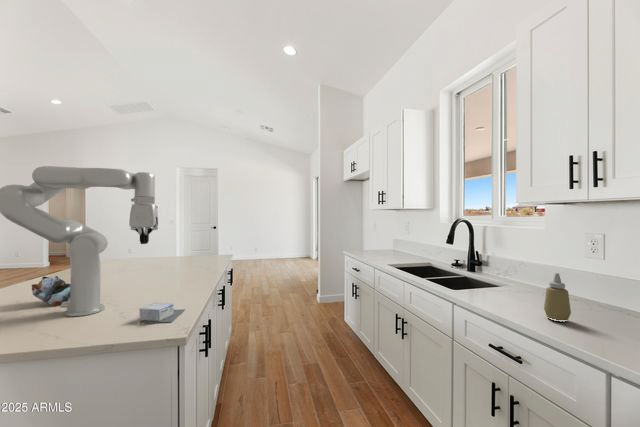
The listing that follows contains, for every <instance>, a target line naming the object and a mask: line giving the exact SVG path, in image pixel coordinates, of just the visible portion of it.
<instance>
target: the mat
mask: <svg viewBox="0 0 640 427" xmlns="http://www.w3.org/2000/svg"><path fill="white" fill-rule="evenodd" d="M185 311H186V308H185V309H184V308H183V309H174V312H173V315H171V316H169V317H167V318H165V319H163V320H161V321H148V320H140V322H139V324H140V323H145V324H169V323H171V324H172V323H173V322H174V321H175V320H176V319H177V318H178V317H180V316H181V315H182V314H183V313H184V312H185Z"/></svg>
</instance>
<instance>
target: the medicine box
mask: <svg viewBox="0 0 640 427" xmlns="http://www.w3.org/2000/svg"><path fill="white" fill-rule="evenodd" d="M174 307H175V305H174V303H169V302H152V303H151V304H148V305H146V306H145V305H144V306H143V307H140V308H139V320H140V321H143V320H148V321H161V320H163V319H165V318H167V317H169V316H171V315H173V312H174V310H175V308H174Z"/></svg>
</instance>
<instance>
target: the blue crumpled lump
mask: <svg viewBox="0 0 640 427" xmlns="http://www.w3.org/2000/svg"><path fill="white" fill-rule="evenodd" d="M70 288H71V282H70V283H66V281H65V280H63V279H61V278H59V276H58V275H54V276H53V277H49V276H42V277H41V280H40V281H39V282H38V283H33V284H31V291H32V292H31V293H32V295H33V296H34V297H35V298H37V299H39V300H40V301H42V302H43V303H46V304H48V305H50V306H52V307H60V306H61V304H62V302H70Z"/></svg>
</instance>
